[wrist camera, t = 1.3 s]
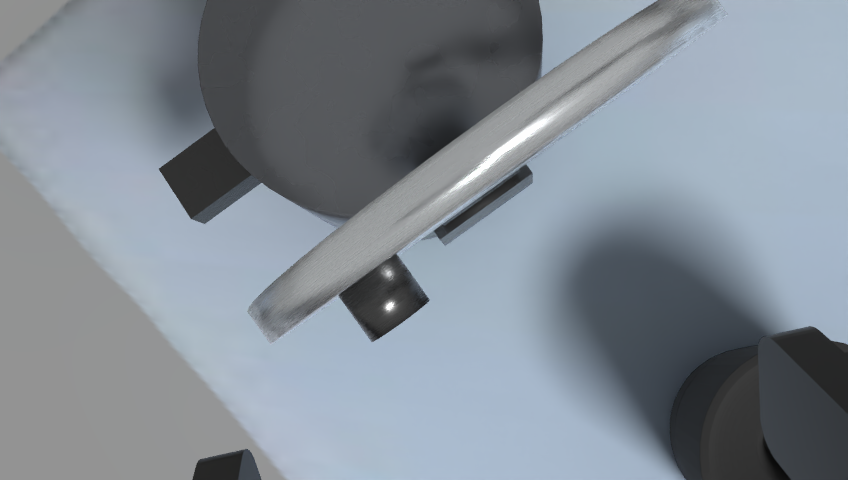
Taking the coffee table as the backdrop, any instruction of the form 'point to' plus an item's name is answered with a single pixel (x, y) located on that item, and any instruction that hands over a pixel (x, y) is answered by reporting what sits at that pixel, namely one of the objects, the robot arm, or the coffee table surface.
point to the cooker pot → (349, 98)
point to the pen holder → (723, 421)
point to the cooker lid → (470, 175)
